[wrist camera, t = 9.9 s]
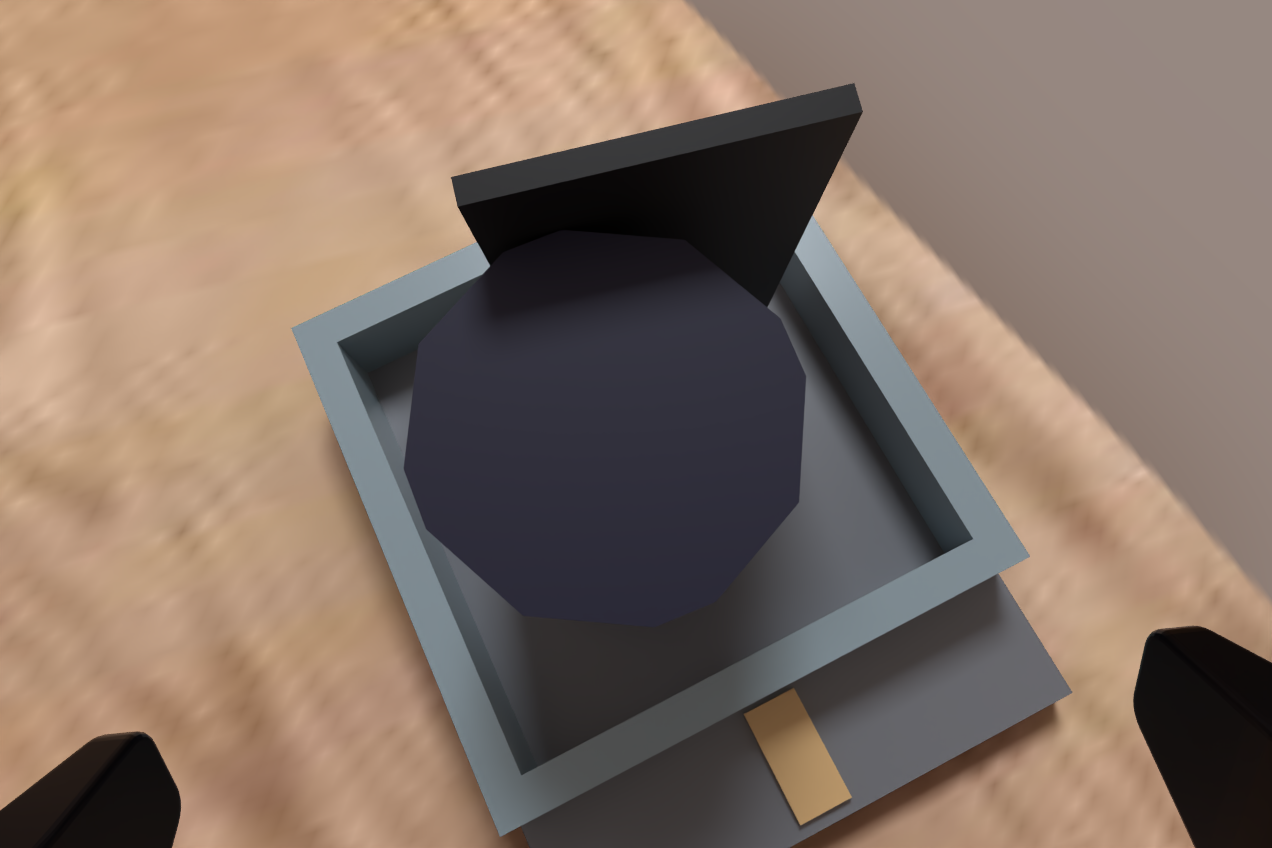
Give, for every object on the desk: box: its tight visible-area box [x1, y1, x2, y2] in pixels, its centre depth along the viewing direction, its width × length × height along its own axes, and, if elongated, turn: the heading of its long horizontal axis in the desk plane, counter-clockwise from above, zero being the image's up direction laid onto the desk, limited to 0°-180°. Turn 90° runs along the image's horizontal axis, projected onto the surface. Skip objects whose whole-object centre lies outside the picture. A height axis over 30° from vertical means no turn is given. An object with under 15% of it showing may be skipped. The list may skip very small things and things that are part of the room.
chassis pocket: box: [292, 215, 1072, 848], centre depth 20 cm, size 14×12×3 cm
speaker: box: [404, 83, 863, 627], centre depth 16 cm, size 8×6×10 cm
